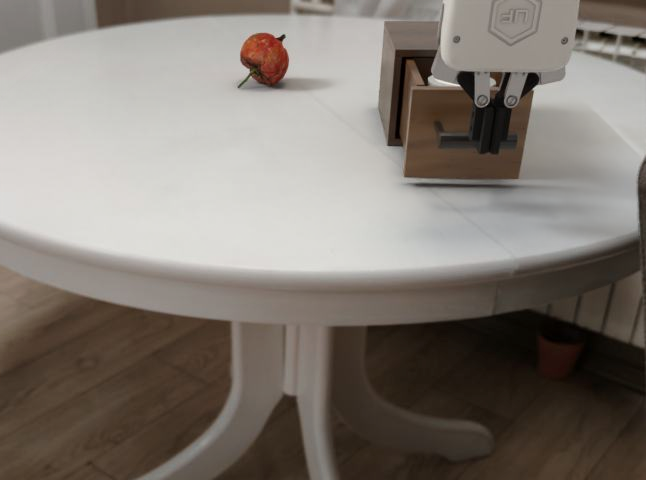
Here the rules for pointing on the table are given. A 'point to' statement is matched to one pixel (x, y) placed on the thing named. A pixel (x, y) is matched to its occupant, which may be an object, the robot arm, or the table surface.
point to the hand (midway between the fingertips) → (485, 149)
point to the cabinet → (401, 67)
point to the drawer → (453, 129)
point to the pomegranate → (264, 58)
